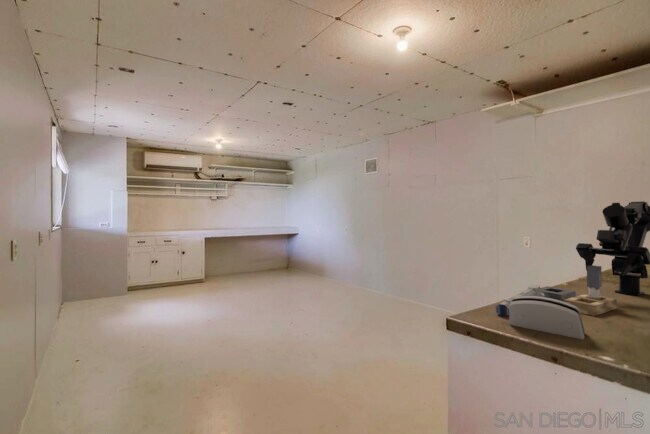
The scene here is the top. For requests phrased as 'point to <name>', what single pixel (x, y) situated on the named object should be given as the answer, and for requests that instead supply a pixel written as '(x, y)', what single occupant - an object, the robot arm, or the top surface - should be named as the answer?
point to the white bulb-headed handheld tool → (531, 291)
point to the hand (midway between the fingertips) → (603, 273)
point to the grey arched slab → (546, 316)
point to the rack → (592, 304)
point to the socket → (557, 293)
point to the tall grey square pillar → (594, 282)
